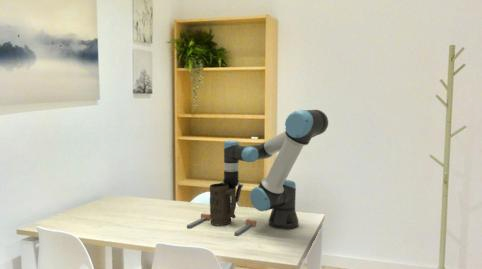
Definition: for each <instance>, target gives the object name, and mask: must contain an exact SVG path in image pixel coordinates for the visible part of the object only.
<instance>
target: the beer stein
mask: <svg viewBox="0 0 482 269" xmlns="http://www.w3.org/2000/svg"><path fill="white" fill-rule="evenodd" d="M229 194H231V197H232V208H231V206H230V196H229ZM235 196H236V193H235V194H234V189H231V190H229V185H228V184H224V183H221V182H220V183H219V182H218V183H212V184H210V185H209V214H210V215H211V220H210V224H212V225H214V226H226V225H229V224H231V223H232V222H233V221H232V220H233V219H236V214H235V210H236V207H237V202H236V197H235Z"/></svg>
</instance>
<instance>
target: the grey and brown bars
mask: <svg viewBox="0 0 482 269" xmlns="http://www.w3.org/2000/svg"><path fill="white" fill-rule="evenodd" d="M206 221H208V222H209V221H210V222H211V215H210V213H204V212H202V213H201V214H200V218H199V219H196V220H194V221H193V222H191V223H189V224H187V225H186V228H187V229H188V230H190V229H193V228H195V227H197V226H199V225H200V224H202V223H204V222H206ZM255 227H257V220H256V219H249V218H247V219H245V225H244V226H242V227H241V228H239V229H238V230H236V231H235V232H234V236H236V237H239V236H241V235H242V234H244V233H245V232H247V231H248V230H250V229H252V228H255Z"/></svg>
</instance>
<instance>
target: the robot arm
mask: <svg viewBox="0 0 482 269" xmlns="http://www.w3.org/2000/svg"><path fill="white" fill-rule="evenodd" d="M284 125H285V131H283V132H281V133H279V134H278V135H276V136H273V137H272V138H270V139H267V140H266V141H264V142H262V143H260V144H254V145H246V146H245V145H240V143H239V140H225V142H224V144H223V145H224V146H223V170H224V171H223V181H221V182H220V183H224V184H228V185H229V190H231V189H234V194H235V197H236V203H238V202H239V201H240V200H239V199H240V195H241V191H242V188H243V187H244V184H242V183H240V180H239V161H241V162H245V163H246V162H247V163H255V162H256V161H257V160H262V159H263V160H265V159H266V160H267V159H269V158H271V157H273V155H274V154H276V153H278V154H277V156H276V157H275V160H274V162H273V163H272V166H271V168H270V170H269V171H268V174H267V175H266V177H263V178H262V179H260V180H261V181H260V182H259V185H258V186H256V187H254V188H252V189H251V191H250V194H249V197H250V199H249V200H250V202H251V204H252V206H253V208H255V210H256V211H259V212H265V211H266V212H268V211H270V210H271V212H270V216H269V218H268V226H269V227H271V228H274V229H278V230H279V229H280V230H291V229H295V228H298V227H299V218H298V215H297V211H296V194H297V193H296V191H297V188H296V187H297V186H296V182H295V181H294V180H289V179H287V178H288V176H289V175H290V173H291V171H292V169H293V167H294V165H295V163H296V161H297V160H298V157H299V155H300V153H302V152H301V151H302V149H303V148H304V146H307V145H309V143H310V141H311V140H312V138H314V137H316V136H319V135H321V134H323V133H325V132H326V130H327V128H328V126H329V118H328V116H327V114H325V112H323V111H322V110H320V109H299V110H295V111H292V112H291V113H290V114H288V115H287V117H286V119H285V122H284ZM229 196H230V206H231V208H232V197H231V194H229Z"/></svg>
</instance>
